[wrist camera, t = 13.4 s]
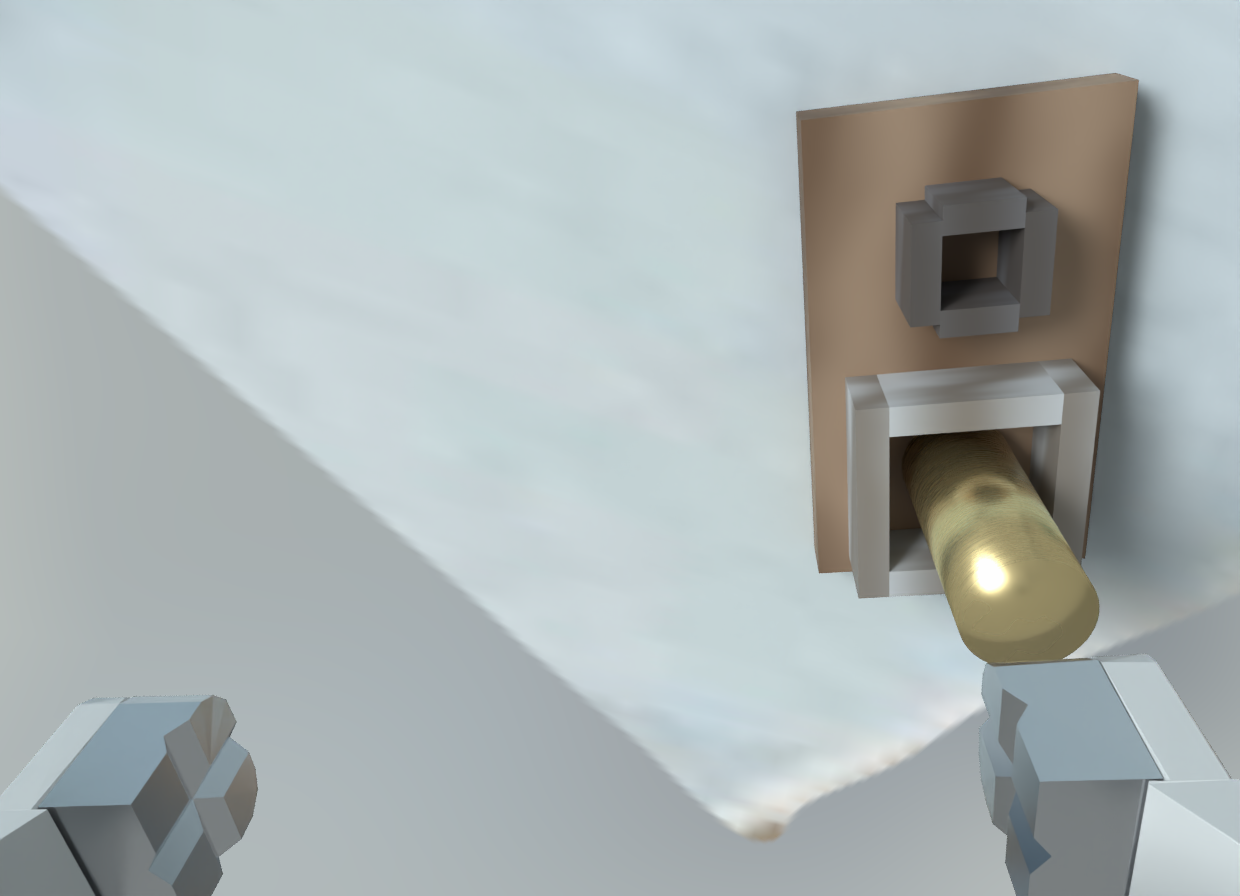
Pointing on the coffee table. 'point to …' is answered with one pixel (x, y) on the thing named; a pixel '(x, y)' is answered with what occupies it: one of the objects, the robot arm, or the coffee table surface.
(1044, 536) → the brass cylinder rod
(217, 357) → the coffee table surface
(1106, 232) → the board
